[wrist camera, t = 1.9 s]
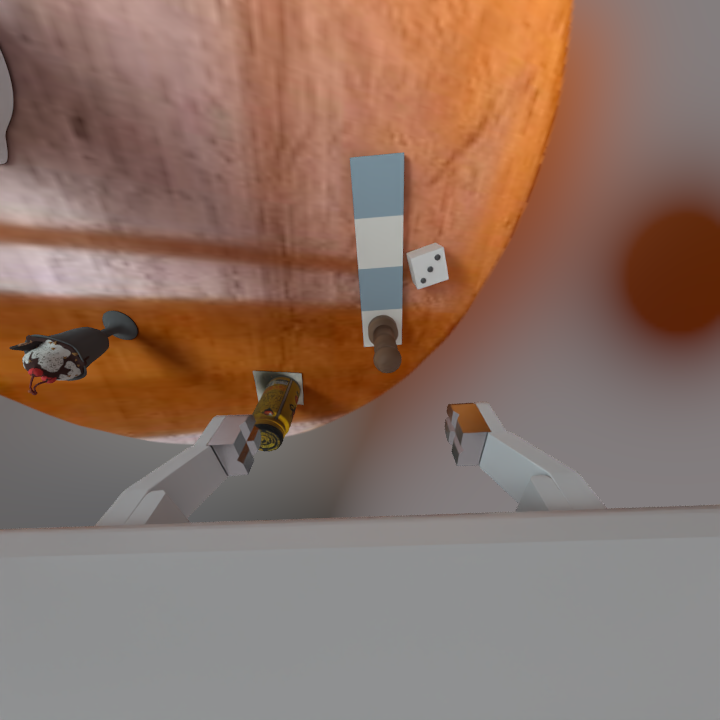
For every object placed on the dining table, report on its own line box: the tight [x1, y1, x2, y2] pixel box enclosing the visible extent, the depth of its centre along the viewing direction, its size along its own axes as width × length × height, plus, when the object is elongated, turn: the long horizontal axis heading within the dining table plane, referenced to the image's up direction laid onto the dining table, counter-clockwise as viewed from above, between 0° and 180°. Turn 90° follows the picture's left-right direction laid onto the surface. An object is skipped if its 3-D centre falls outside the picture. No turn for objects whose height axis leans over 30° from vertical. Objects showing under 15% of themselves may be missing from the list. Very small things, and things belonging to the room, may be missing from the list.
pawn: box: [368, 315, 401, 373], centre depth 35 cm, size 4×4×11 cm
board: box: [350, 153, 404, 347], centre depth 35 cm, size 6×24×1 cm, turn 4°
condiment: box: [252, 371, 304, 451], centre depth 42 cm, size 7×8×12 cm
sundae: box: [10, 311, 138, 395], centre depth 34 cm, size 7×7×15 cm
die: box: [406, 243, 449, 289], centre depth 34 cm, size 4×4×4 cm
